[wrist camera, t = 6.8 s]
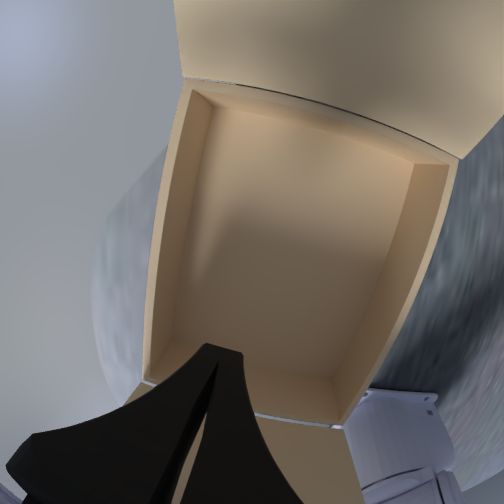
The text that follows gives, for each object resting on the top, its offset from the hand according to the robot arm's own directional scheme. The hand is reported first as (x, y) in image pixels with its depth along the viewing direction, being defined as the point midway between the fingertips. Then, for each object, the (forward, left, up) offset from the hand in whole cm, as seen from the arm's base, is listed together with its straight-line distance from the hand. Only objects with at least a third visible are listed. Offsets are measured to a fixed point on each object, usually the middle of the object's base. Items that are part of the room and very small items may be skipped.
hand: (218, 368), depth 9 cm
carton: (-2, -1, -10) cm, 11 cm away
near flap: (-2, -13, -2) cm, 13 cm away
